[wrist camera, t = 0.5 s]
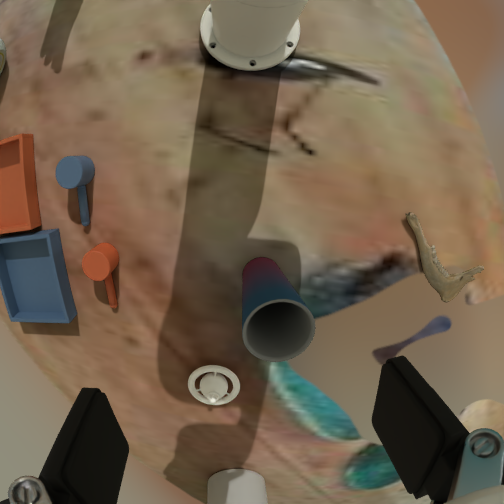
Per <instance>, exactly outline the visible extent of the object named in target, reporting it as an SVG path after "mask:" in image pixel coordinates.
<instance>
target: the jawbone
mask: <svg viewBox="0 0 504 504" xmlns="http://www.w3.org/2000/svg"><path fill="white" fill-rule="evenodd" d="M406 217H407V220H408V223H409V225H410V227H411V228H412V229H413V231H414V233H415V235H416V239H417V243H418V247H419V252H420V258H421V263H422V267H423V271H424V274H425V276H426V278H427V280H428V282H429V283H430V285H431V286H432V287H433V288H434V289H435V290H436V291H437V292H438V293H439V294H440V296H441V300H442V301H444V302H449V301H451V300H453V299H454V298H455V297H456V296H457V294H458V293H459V292H460V290H461V289H462V288H463V286H464V285H465V284H466V283H467V282H469V281H471V280H474V279H475V278H473V277H472V276H473V275H474V274H476V273H481V271H482V270H484V267H483V266H477V267H474V268H473V269H470V270H468V271H466V272H463V273H460V274H452V275H449V274H448V273H447V271H446V270H445V269H444V267H442V264H441V265H440V262H439V260H437V255H436V250H435V246H434V245H432V246H429V245H428V243H427V241H426V239H425V237H424V234H423V231H422V228H421V224H420V222H419V220H418V218H417V216H416V215H415V214H413V213H412V212H411V213H408V214H406Z"/></svg>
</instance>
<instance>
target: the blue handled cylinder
mask: <svg viewBox="0 0 504 504" xmlns="http://www.w3.org/2000/svg"><path fill="white" fill-rule="evenodd" d="M94 172H95V168H94V164H93V162H92V160H91V159H90V158H88V157H86V156H67V157H65V158H63V159H62V160H61V161H60V162H59V163H58V165H57V168H56V179H57V181H58V183H59V184H60V186H62V187H63V188H66V189H71V188H75V187H78V188H77V191H78V200H79V208H80V216H81V223H82V225H83V226H88V225H89V223H90V219H89V211H88V203H87V194H86V187H85V186H84V185H86V184H88V183H89V182H90V181H91V180H92V178H93V176H94Z"/></svg>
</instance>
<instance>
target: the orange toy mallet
mask: <svg viewBox="0 0 504 504" xmlns="http://www.w3.org/2000/svg"><path fill="white" fill-rule="evenodd" d="M118 262H119V255H118V252H117V250H116V249H115V247H114V246H112V245H111V244H108V243H100V244H98V245H97V246H96V247H94V248H93V249H92V250H90V251H89V252H88V253H86V254H85V256H84V257H83V260H82V268H83V271H84V273H85V274H86V275H87V277H89V278H90V279H92V280H94V281H102V280H104V281H105V286H106V291H107V295H108V300H109V304H110V307H111V308H116V307H117V305H118V303H117V298H116V294H115V289H114V284H113V279H112V274H111V272H112V271H113V270H114V269H115V268H116V266H117V265H118Z"/></svg>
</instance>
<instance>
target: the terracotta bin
mask: <svg viewBox="0 0 504 504" xmlns="http://www.w3.org/2000/svg"><path fill="white" fill-rule="evenodd" d="M38 226H41V218H40V211H39V204H38V196H37V186H36V176H35V163H34V146H33V134H19V135H16V136H13V137H10V138H7V139H4V140H1V141H0V234H4V233H11V232H18V231H26V230H32V229H34V228H36V227H38Z"/></svg>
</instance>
